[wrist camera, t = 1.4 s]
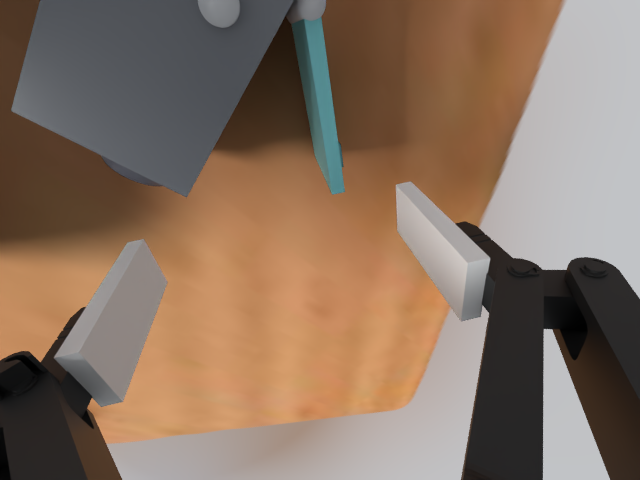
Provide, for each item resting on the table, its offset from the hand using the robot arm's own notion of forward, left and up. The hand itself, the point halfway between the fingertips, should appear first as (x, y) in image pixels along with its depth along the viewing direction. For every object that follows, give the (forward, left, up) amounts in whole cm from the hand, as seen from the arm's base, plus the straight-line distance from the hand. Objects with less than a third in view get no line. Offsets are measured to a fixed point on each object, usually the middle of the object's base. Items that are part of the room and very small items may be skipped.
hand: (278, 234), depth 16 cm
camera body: (-9, +3, -18) cm, 21 cm away
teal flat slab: (+1, +6, -18) cm, 19 cm away
